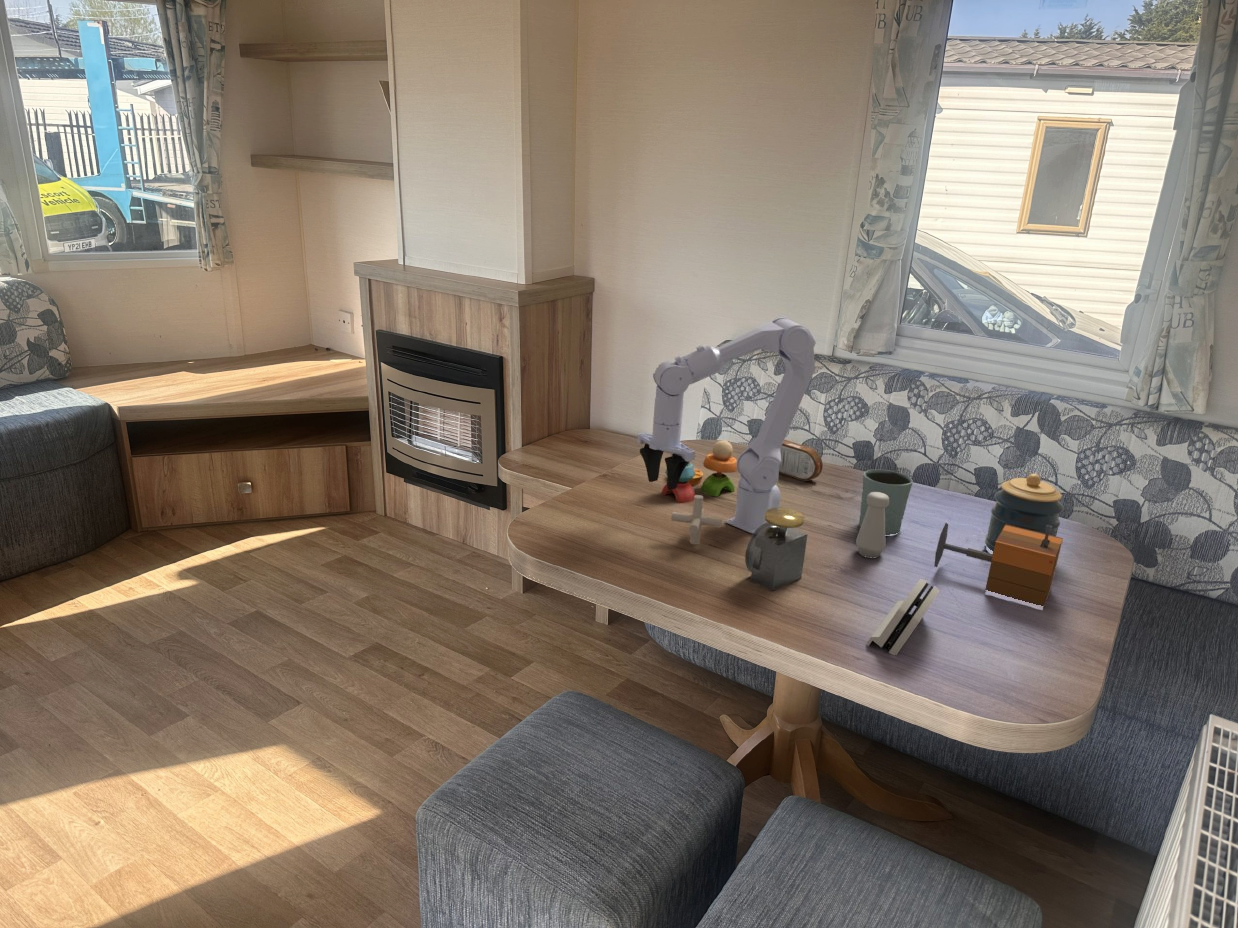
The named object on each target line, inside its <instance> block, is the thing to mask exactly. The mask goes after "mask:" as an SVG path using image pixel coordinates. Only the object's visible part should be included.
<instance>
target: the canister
mask: <svg viewBox="0 0 1238 928" xmlns="http://www.w3.org/2000/svg"><path fill="white" fill-rule="evenodd" d="M1041 479H1042V478H1041V477H1040V475H1039V474H1037V473H1030V474H1029V475H1027V476H1026V477H1014V478H1012V479H1010V480H1006V481H1004V482H1002V483H1001V485H1000V487H1001V490H998V491H996V492H995V494H994V499H995V500H996V501H995V504H994V506H993V507H992V508H991V510H990V511H991V513H990V514H991V516H990V519H989V520H990V521H989V524H988V529H987V534H986V535H985V539H984V544H986V546H987V547H988V548H989V549H990V550H992V551H993V552H994V547H995V543H996V540H997V538H998V537H999V535H1000V533H1001V532H1002V530H1003V528H1004V527H1005V525H1010V526H1015V527H1019V528H1023V529H1027V530H1031V531H1035V532H1040V533H1044V534H1046V531H1045V530H1046V525H1050V526H1052V529H1051V532H1050V533H1049V535H1052V536H1056V537H1057V534H1058V529H1059V527H1060V525H1061V521H1060V520H1059V519H1060V517H1059V516H1060V514H1061V513H1063V511H1064V509H1065V508H1064V507H1065V506H1064V505H1063V504H1062V503H1061V502H1060V500H1061V499H1062V498H1063V494H1062V493H1060V491H1059V490H1057V489H1056V488H1055V486H1053V485H1051V484H1050V483H1048V482H1045V481H1042V480H1041Z"/></svg>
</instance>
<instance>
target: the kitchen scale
mask: <svg viewBox="0 0 1238 928" xmlns="http://www.w3.org/2000/svg"><path fill="white" fill-rule="evenodd" d="M765 520H766V521H767V522H768V523H765V524H763V525H761V526H760V527H759V528H758V529H757V530H756V531H755V532H754V534H752V535H751V537H750V538H749V541H748V543H747V547H746V549H745V556H744V558H745V559H744V560H745V562H744V563H745V565H746V568H747V571H749V572H751V575H750V582H752V583H754V584H756V585H757V586H760V587H762V588H764V589H766V590H768V591H770V592H774V591H775V590H778V589H781V588H782V587H785V586H787V585H789V584H791V583H794V582H796V581H798V580H800V579H802V577H803V576H802V575H803V570H804V563H805V562H804V561H805V554H806V549H807V548H806V547H807V540H808V533H806V532H804V531H802V530H799V529H797V528H799V527H802V526H803V525H804V522H805V521H804V520H805V515H803V514H802V513H801V512H800V511H797V510H795V509H790V508H783V507H779V508H772V509H768V510H767V511H766V512H765Z"/></svg>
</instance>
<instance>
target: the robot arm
mask: <svg viewBox="0 0 1238 928" xmlns="http://www.w3.org/2000/svg"><path fill="white" fill-rule="evenodd" d="M816 342H817V341H816V340H815V339H814V337H813V335H812V332H811V331H810V329H809V328H807V327H806V326H805V325H801V324H799V323H796V322H795V321H793V320H791V319H790V318H788V317H783V316H782V317H777V318H775V319H774V320H772V321H766V322H763V324H761V325H759V326H758V327H755V329H754V328H753V329H752V330H750V331H748V332H746V333H744V334H741V335H740V336H738V337H736V338H734V339H732V340H730V341H728V342H726V343H725V344H722V345H720V346H718V347H713V346H711V345H706V346H704V345H703V344H701V345H698V346H696V350H694V351H692V352H690V353H688V354H685V355H683V356H679V355H678V356H676V357H674V361H673V360H665V361H662V362H661V363H660V364H658V367H656V368H655V371H654V373H652V377H653V378H652V379H653V382H654V383H655V384H656V387H655V389H656V390H655V398H654V405H653V406H654V409H653V418H652V419H653V422H652V423H653V424H652V433H651V434H650V433H646V432H640V433H638V434H637V440H636V443H637V444H640V445H642V444H643V445H644V446H643V447H641V448H640V449H639V454H640V455H641V457H642V459H643V462H644V464H645V465H644V466H645V469H646V474H647V480H648V482H649V483H653V482H657V481H659V475H660V470H661V469H660V468H661V462H662V458H663V456H664V455H663V454H664V453H667V454H670V455H671V454H672V456H668V457H665V458H664V462H665V465H666V466H665V467H666V469H667V475H666V478H667V479H666V484H667V489H669V490H672V489H675V488H677V485H678V482H679V479H680V477H681V474H682V472H683V470H684V469H685V467H686V465H687V464H688V463H689V461H690V462H693V461H695V460H696V450H694V449H691V448H690V447H688V446H687V445H685V444H684V443H682V442H681V434H682V422H683V411H684V394H685V392H686V391H687V390H688V388H689V386H690V385H693V384H695V383H698V382H700V381H702V380H704V379H706V378H708V377H709V378H710V377H711V376H713V375H715V374H718V373H719V372H721V370H722V368H723V366H724V364H726V363H728V362H731V361H733V360H736V359H739V358H741V357H744V356H747V355H749V354H752V353H754V352H757V351H760V350H764V351H769V352H773V353H779V355H780V357H781V360H782V361H783V363H784V367H785V368H786V369H785V372H784V374H783V375H782V377H781V380H780V382H779V385H778V387H777V389H776V392H775V395H774V396H773V398H772V401H771V404H770V406H769V408H768V411H767V413H766V415H765V418H764V420H763V422H762V424H761V427H760V429H759V432H758V434H757V436H756V438H754V439H753V440H751V441H750V442H749V443H748V445H747V447H746V449H745V450H744V451H743V452H742V453H740V455H739V456H738V458H737V459H736V460H737V469H738V470H737V471H738V473H739V474H740V478H739V480H738V482H737V483H738V485H737V495H736V500H735V501H736V503H735V509H734V510H735V513H734V517H732V518H729V519H726V520H725V523H726V524H729V525H730V526H733V527H735V528H738V529H740V530H742V531H745V532H746V533H750V534H752V535H753V534H754V532H755V531H756V530H757V529H758V528H759V527H760V526H761V525H763V524H765V523H768V522H767V521H766V520H765V512H766V511H767V510H768V509H772V508H780V506H781V491H780V489H779V487H778V485H777V483H778V480H779V479H780V478H779V475H780V473H779V466H780V464H781V453H780V448H781V446H782V443H783V441H784V440H786V436H787V434H788V432H789V430H790V428H791V425H792V423H793V421H794V419H795V416H796V413H797V411H798V410H799V407H800V405H801V402H802V400H803V398H804V396H805V393H806V391H807V389H808V386H809V384H810V383H811V380H812V377H813V375H814V372H815V369H816V367H815V366H816V364H815V361H816V360H815V346H816V344H817V343H816Z"/></svg>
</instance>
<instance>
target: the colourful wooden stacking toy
mask: <svg viewBox="0 0 1238 928" xmlns="http://www.w3.org/2000/svg"><path fill="white" fill-rule="evenodd" d="M733 452H734V448H733V445H732V444H731V442H729V441H727V440H719V441H717V442H715V443H714V445H713V447H712V453H709V454H707V455H706V456H705V458H704V460H703V463H702V464H703V467H704V468H705V469H707V470H710V471H712V472H713V473H711V474H710V475H708V476H707V477H705V479H704V481H703V482H702V479H703V476H704V473H703V471H702V470H700V469H698V468H694V465H693V463H691V461H689V463H688V464H687V465H686V467H685V469H684V470H683V472H682V474H681V477H680V479H679V482H678V485H677V488H675V489H672V490H669V489H667V483H665V485H664V486H663V488H662V490H661V495H668V494H672V493H673V494H674V496H675V500H676V502H677V503H679V504H685V503H691V502H694V496H695V495H696V493H695V489H694V487H693V486H696V485H699V484H700V483H701V482H702V484H701V487H700V491H701V492H702V493H703V494H705V495H708V496H711V497H718V496H719V495H720V494H721V491H722V489H724V490H727V491H729V492H732V493H735V485H734V481H732V479H731V478H729V477H728V476H727V475H726V474H727V473H728V474H731V473H736V472H737V471H738V469H737V460H738V459H736V457H734V456H733ZM670 455H671V456H672V454H670ZM671 456H670V457H671ZM664 473H665V475H666V476H667V468H666V469H665V472H664Z"/></svg>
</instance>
